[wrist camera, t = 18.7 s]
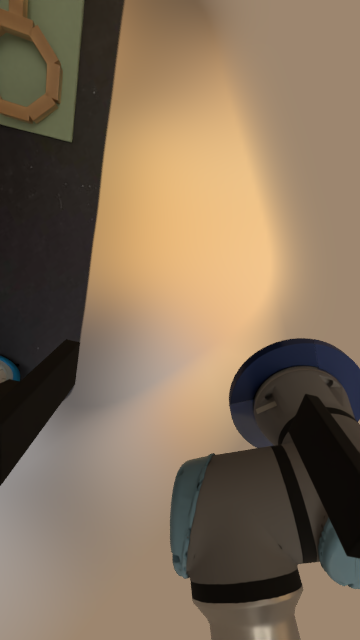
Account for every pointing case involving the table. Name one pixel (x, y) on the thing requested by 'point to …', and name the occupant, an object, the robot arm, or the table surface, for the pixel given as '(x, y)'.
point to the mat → (43, 65)
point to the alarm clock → (8, 370)
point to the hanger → (26, 29)
